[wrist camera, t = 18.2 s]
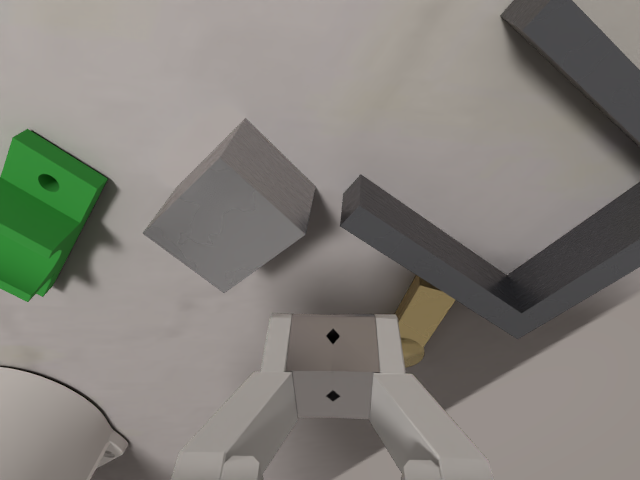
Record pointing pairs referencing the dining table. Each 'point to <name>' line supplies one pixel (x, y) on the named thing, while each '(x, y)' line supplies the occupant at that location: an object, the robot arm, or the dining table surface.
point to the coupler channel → (567, 252)
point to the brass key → (420, 317)
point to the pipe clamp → (41, 212)
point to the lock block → (235, 209)
